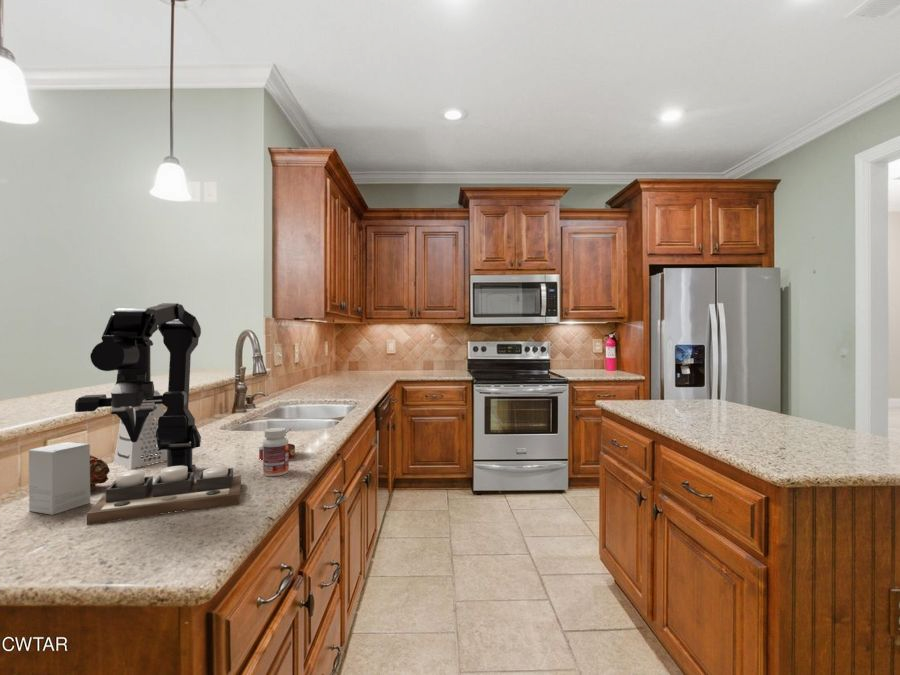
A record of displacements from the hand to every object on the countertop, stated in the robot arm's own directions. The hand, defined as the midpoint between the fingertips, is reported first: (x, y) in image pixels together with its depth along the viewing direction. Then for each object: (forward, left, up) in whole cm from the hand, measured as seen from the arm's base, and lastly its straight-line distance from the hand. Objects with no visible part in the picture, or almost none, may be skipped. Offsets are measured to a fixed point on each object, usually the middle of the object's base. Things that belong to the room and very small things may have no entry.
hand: (134, 441), depth 96 cm
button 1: (0, -1, -9) cm, 9 cm away
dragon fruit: (-15, -14, -13) cm, 24 cm away
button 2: (0, +15, -10) cm, 18 cm away
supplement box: (-4, -14, -13) cm, 20 cm away
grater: (-38, -6, -13) cm, 41 cm away
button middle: (0, +7, -9) cm, 12 cm away
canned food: (-28, +29, -14) cm, 43 cm away
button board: (+2, +7, -13) cm, 15 cm away
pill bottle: (-11, +28, -13) cm, 33 cm away
